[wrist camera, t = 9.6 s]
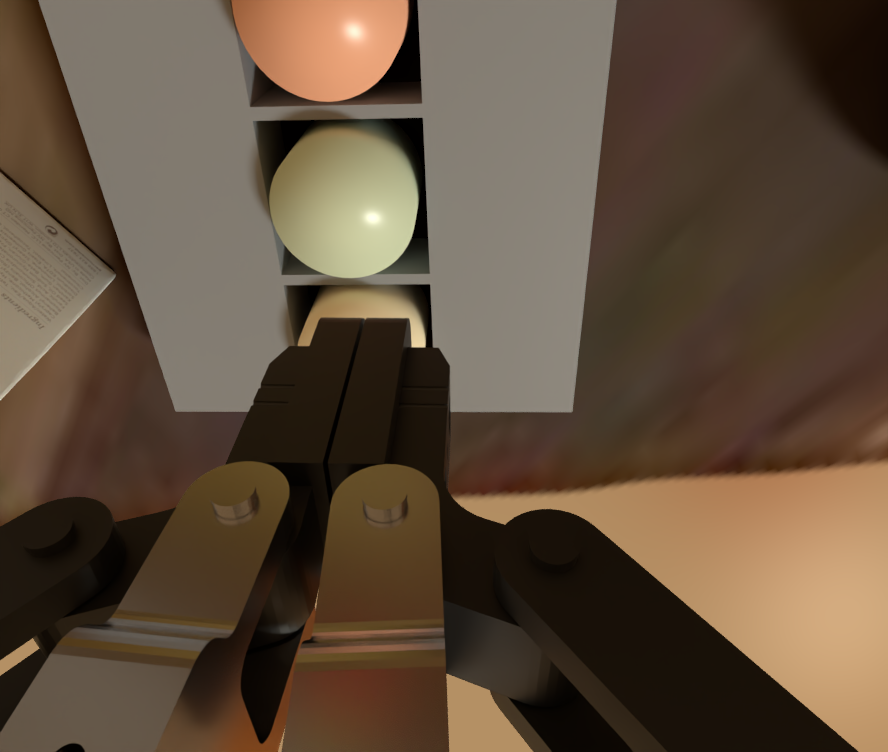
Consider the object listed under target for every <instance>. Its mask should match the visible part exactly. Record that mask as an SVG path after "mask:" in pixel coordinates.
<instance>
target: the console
mask: <svg viewBox="0 0 888 752" xmlns="http://www.w3.org/2000/svg"><path fill="white" fill-rule="evenodd" d="M38 1H39V4H40V7H41V10H42V13H43V16H44V19H45V22H46V25H47V28H48V31H49V34H50V37H51V40H52V43H53V46H54V49H55V52H56V55H57V58H58V61H59V64H60V67H61V70H62V73H63V76H64V79H65V82H66V85H67V88H68V91H69V94H70V97H71V100H72V103H73V106H74V109H75V111H76V114H77V117H78V120H79V123H80V126H81V129H82V132H83V135H84V138H85V141H86V144H87V147H88V150H89V153H90V156H91V159H92V162H93V165H94V168H95V171H96V174H97V177H98V180H99V183H100V186H101V189H102V192H103V195H104V198H105V201H106V204H107V207H108V210H109V213H110V216H111V219H112V222H113V225H114V228H115V231H116V234H117V237H118V240H119V243H120V246H121V249H122V252H123V255H124V258H125V261H126V264H127V267H128V270H129V273H130V276H131V279H132V282H133V285H134V288H135V291H136V294H137V297H138V300H139V303H140V306H141V309H142V312H143V315H144V318H145V321H146V324H147V327H148V330H149V333H150V336H151V339H152V342H153V345H154V348H155V351H156V354H157V357H158V360H159V363H160V366H161V369H162V372H163V375H164V378H165V381H166V384H167V387H168V390H169V393H170V396H171V399H172V402H173V405H174V408H175V411H216V412H249V409H250V407H251V405H252V406H253V400H254V398H255V396H256V393H257V391H258V389H259V388H261V382H262V380H263V377H264V375H265V373H266V370H267V368H268V366H269V364H270V363H271V362H272V361H273V360H274V359H275V358H276V357H277V356H279V355H280V354H281V353H282V352H283V351H284V350H285V349H287V348H288V347H289V346H298V341H299V338H300V336H301V333H302V330H303V328H304V325H305V323H306V320H307V318H308V316H309V313H310V311H311V305H310V299H309V293H308V287H307V285H391V284H430V289H431V312H432V334H433V348H439V349H440V351H441V352H442V354H443V355H444V357H445V359H446V360H447V362H448V363H449V365H450V412H572V410H573V400H574V391H575V382H576V372H577V363H578V354H579V345H580V335H581V326H582V317H583V307H584V298H585V289H586V279H587V270H588V261H589V252H590V242H591V233H592V224H593V214H594V205H595V196H596V186H597V177H598V168H599V159H600V149H601V140H602V131H603V121H604V112H605V103H606V94H607V84H608V75H609V66H610V56H611V47H612V38H613V28H614V19H615V10H616V1H617V0H418V19H419V41H420V64H421V82H380V83H376V84H375V85H373V86H372V87H371V88H369V89H368V90H366V91H365V92H363V93H361V94H360V95H357V96H355V97H352V98H350V99H345V100H341V101H333V102H322V101H314V100H309V99H306V98H302V97H299V96H297V95H295V94H293V93H290V92H288V91H287V90H285V89H283V88H282V87H280V86H279V85H274V81H272V80H271V79H270V78H269V77H268V76H267V75H266V74H265V73H264V72H263V71H262V70H261V69H260V68H259V67H258V66H257V64H256V63H255V62H254V61H253V59H252V58H251V56H250V54H249V53H248V51H247V50H246V48H245V46H244V44H243V42H242V40H241V38H240V35H239V32H238V29H237V27H236V23H235V19H234V15H233V9H232V1H231V0H38ZM381 118H423V132H424V154H425V177H426V199H427V222H428V238H411V240H410V242H409V244H408V246H407V248H406V249H405V251H404V252H403V254H402V255H401V256H400V257H399V258H398V259H397V260H396V261H395V262H394V263H393V264H391V265H390V266H389V267H387V268H385V269H384V270H382V271H380V272H378V273H375V274H372V275H369V276H365V277H360V278H341V277H335V276H330V275H327V274H324V273H321V272H319V271H316V270H314V269H312V268H311V267H309V266H307V265H306V264H304V263H303V262H301V261H300V260H299V259H298V258H296V257H295V256H294V255H293V254H292V253H291V252H290V251H289V250H288V248H287V247H286V246H285V245H284V243H283V242H282V240H281V239H280V237H279V235H278V233H277V232H276V229H275V227H274V224H273V221H272V217H271V214H270V205H269V195H270V189H271V184H272V181H273V178H274V175H275V173H276V171H277V169H278V168H279V166H280V165H281V163H282V162H283V161H284V159H285V158H286V153H285V147H284V141H283V135H282V129H281V122H280V120H328V119H381Z"/></svg>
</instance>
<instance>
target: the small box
mask: <svg viewBox="0 0 888 752" xmlns="http://www.w3.org/2000/svg"><path fill="white" fill-rule="evenodd" d="M115 277H116V273H115V272H114V271H113V270H112V269H110V268H109V267H108V266H107V265H106V264H105V263H104V262H102V261H101V260H100V259H99V258H98V257H97V256H95V255H94V254H93V253H92V252H91V251H90V250H89V249H88V248H86V247H85V246H84V245H83V244H82V243H81V242H80V241H78V240H77V239H76V238H75V237H74V236H73V235H72V234H71V233H69V232H68V231H67V230H66V229H65V228H63V227H62V226H61V225H60V224H59V223H58V222H57V221H55V220H54V219H53V218H52V217H51V216H50V215H49V214H47V213H46V212H45V211H44V210H43V209H42V208H41V207H40V206H38V205H37V204H36V203H35V202H34V201H33V200H32V199H30V198H29V197H28V196H27V195H26V194H25V193H24V192H22V191H21V190H20V189H19V188H18V187H17V186H16V185H14V184H13V183H12V182H11V181H10V180H9V179H7V178H6V177H5V176H4V175H3V174H2V173H1V172H0V400H1V399H2V398H3V397H4V396H5V395H6V394H7V393H8V392H9V391H10V390H11V389H12V388H13V387H14V385H15V384H16V383H17V382H18V381H19V380H20V379H21V378H22V377H23V376H24V375H25V374H26V373H27V372H28V371H29V370H30V369H31V368H32V367H33V366H34V365H35V364H36V363H37V362H38V360H39V359H40V358H41V357H42V356H43V355H44V354H45V353H46V352H47V351H48V350H49V349H50V348H51V347H52V346H53V345H54V344H55V342H56V341H57V340H58V339H59V338H60V337H61V336H62V335H63V334H64V333H65V332H66V331H67V330H68V328H69V327H70V326H71V325H72V324H73V323H74V322H75V321H76V320H77V319H78V318H79V317H80V316H81V314H82V313H83V312H84V311H85V310H86V309H87V308H88V307H89V306H90V305H91V304H92V303H93V302H94V300H95V299H96V298H97V297H98V296H99V295H100V294H101V293H102V292H103V291H104V289H105V288H106V287H107V286H108V285H109V284H110V283H111V282H112V281H113V279H114V278H115Z"/></svg>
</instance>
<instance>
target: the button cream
mask: <svg viewBox="0 0 888 752" xmlns="http://www.w3.org/2000/svg"><path fill="white" fill-rule="evenodd" d="M321 317H336V318H364V319H366V318H409V320H410V326H411V342H412V347H426V338H427V329H428V320H429V308H428V302H427V299H426V296H425V294H424V292H423V290H422V289H421V287H420V285H419V284H391V285H321V286H320V288H319V291H318V293H317V296H316V298H315V301H314V303H313V306H312V308H311V311H310V313H309V316H308V318H307V320H306V323H305V325H304V328H303V330H302V333H301V336H300V338H299V341H298V346H309V345H310V343H311V340H312V337H313V334H314V332H315V329H316V326H317V324H318V321H319V319H320V318H321Z"/></svg>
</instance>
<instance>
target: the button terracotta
mask: <svg viewBox="0 0 888 752" xmlns="http://www.w3.org/2000/svg"><path fill="white" fill-rule="evenodd" d="M231 1H232V9H233V15H234V19H235V23H236V27H237V29H238V32H239V35H240V38H241V40H242V42H243V44H244V46H245V48H246V50H247V51H248V53H249V54H250V56H251V58H252V59H253V61H254V62H255V63H256V64H257V66H258V67H259V68H260V69H261V70H262V71H263V72H264V73H265V74H266V75H267V76H268V77H269V78H270V79H271V80H272V81H274V82H275V83H276V84H277V85H279V86H280V87H282V88H283V89H285V90H287V91H288V92H290V93H293V94H295V95H297V96H299V97H302V98H306V99H309V100H314V101H322V102H333V101H341V100H345V99H350V98H352V97H355V96H357V95H360V94H361V93H363V92H365V91H366V90H368V89H369V88H371V87H372V86H373V85H375V84H376V83H377V82H378V81H379V80H380V79H381V78H382V77H383V76H384V74H385V73H386V72H387V70H388V69H389V67H390V66H391V64H392V62H393V60H394V59H395V57H396V55H397V53H398V51H399V49H400V47H401V45H402V43H403V41H404V39H405V37H406V35H407V32H408V30H409V27H410V24H411V20H412V16H413V8H414V0H231Z"/></svg>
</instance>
